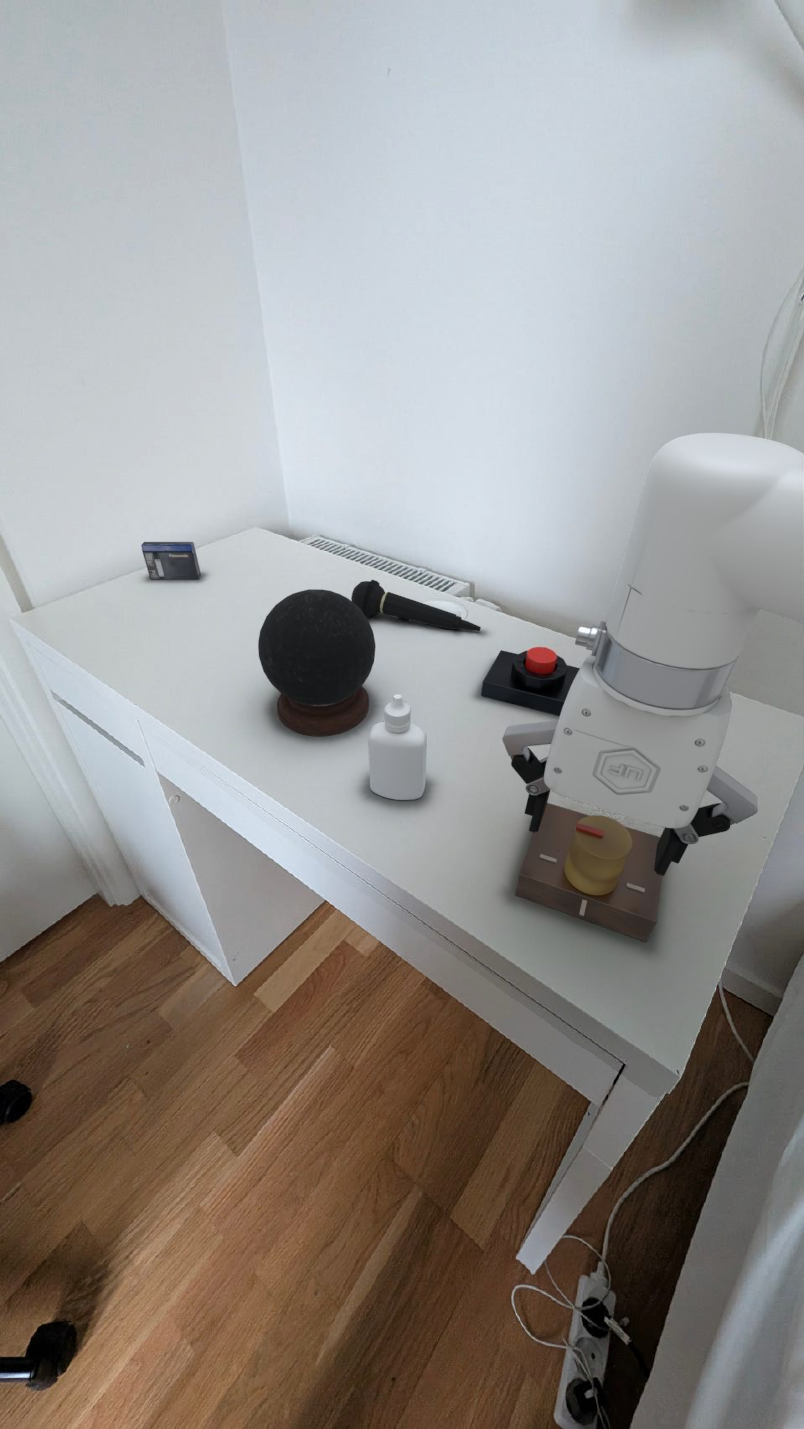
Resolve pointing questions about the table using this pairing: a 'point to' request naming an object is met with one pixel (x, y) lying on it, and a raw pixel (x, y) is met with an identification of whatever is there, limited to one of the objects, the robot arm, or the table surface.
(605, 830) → the knob
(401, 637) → the table surface
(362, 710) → the black ball on stand
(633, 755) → the robot arm
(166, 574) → the mini dv tape
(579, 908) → the panel
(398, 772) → the eye dropper bottle
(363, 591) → the microphone
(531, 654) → the button
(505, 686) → the button box
